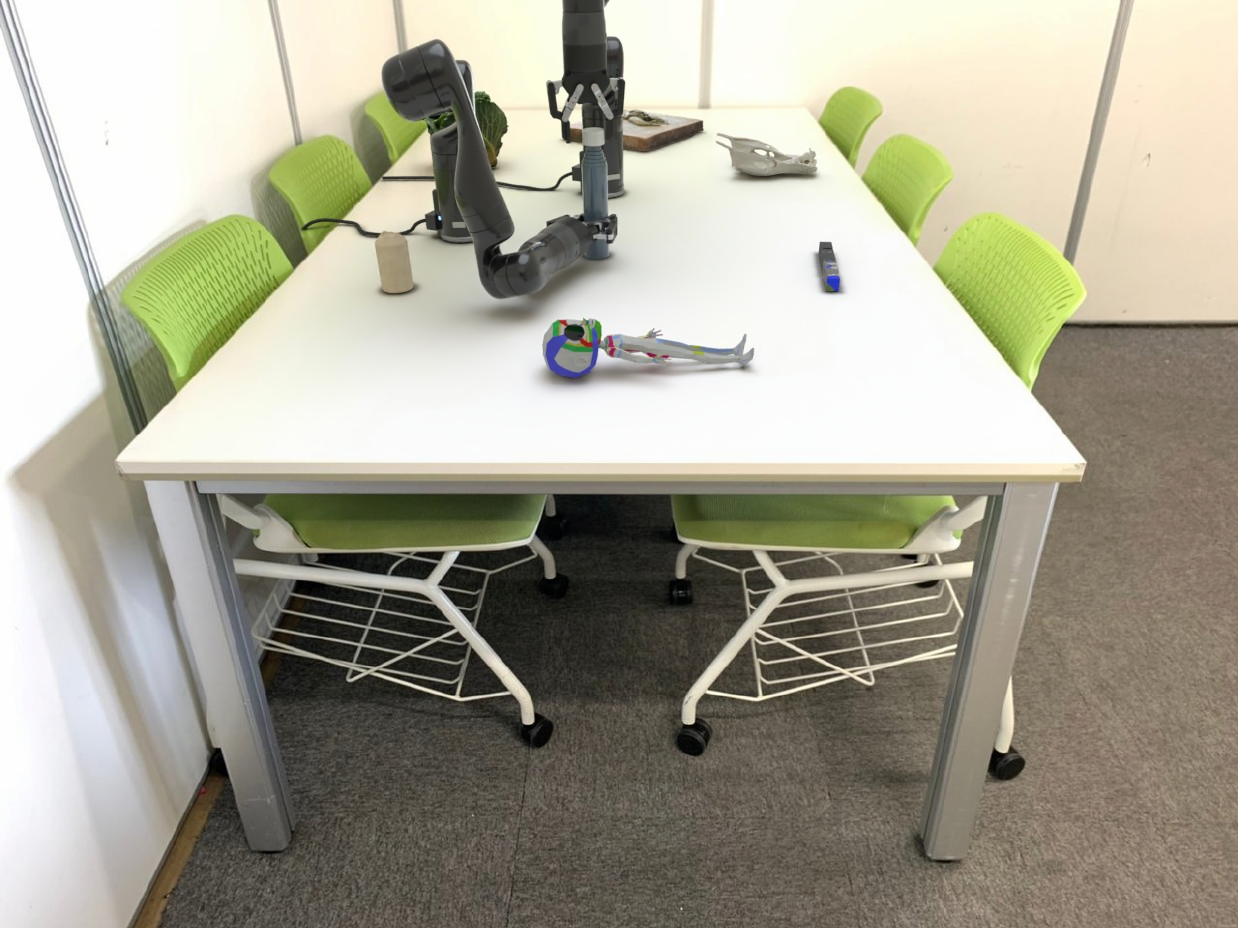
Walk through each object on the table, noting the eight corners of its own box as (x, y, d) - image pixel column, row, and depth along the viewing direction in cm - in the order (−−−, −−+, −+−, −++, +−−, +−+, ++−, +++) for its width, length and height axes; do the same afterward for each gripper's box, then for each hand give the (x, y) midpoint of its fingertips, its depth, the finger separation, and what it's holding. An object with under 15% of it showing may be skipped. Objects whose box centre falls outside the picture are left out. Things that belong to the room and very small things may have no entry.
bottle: (580, 257, 172) (575, 134, 160) (591, 250, 176) (587, 129, 164) (602, 261, 170) (599, 136, 158) (613, 253, 174) (611, 131, 162)
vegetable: (456, 190, 238) (411, 121, 230) (516, 151, 239) (474, 80, 231) (465, 191, 219) (416, 116, 212) (530, 148, 221) (484, 71, 213)
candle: (419, 284, 161) (411, 229, 156) (403, 295, 157) (395, 239, 151) (392, 280, 162) (384, 226, 157) (376, 291, 158) (367, 236, 153)
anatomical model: (717, 129, 225) (818, 128, 221) (717, 166, 230) (815, 166, 226) (714, 143, 213) (820, 142, 209) (713, 182, 217) (817, 182, 214)
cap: (598, 147, 160) (598, 133, 158) (578, 145, 161) (578, 131, 160) (608, 142, 163) (608, 128, 161) (589, 140, 164) (588, 126, 163)
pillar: (831, 242, 170) (840, 279, 154) (830, 253, 172) (838, 291, 155) (819, 241, 171) (827, 279, 154) (818, 252, 172) (825, 291, 155)
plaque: (647, 125, 237) (559, 112, 252) (647, 153, 241) (560, 139, 256) (706, 107, 258) (622, 97, 273) (705, 133, 262) (622, 121, 277)
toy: (760, 346, 125) (547, 329, 121) (748, 400, 130) (541, 385, 125) (744, 318, 134) (544, 300, 129) (733, 369, 138) (539, 354, 134)
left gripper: (595, 228, 154) (636, 202, 167) (523, 219, 159) (568, 194, 172) (597, 270, 158) (636, 241, 171) (526, 259, 163) (569, 232, 176)
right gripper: (621, 36, 157) (622, 135, 166) (540, 39, 155) (545, 139, 164) (629, 41, 151) (630, 144, 160) (544, 44, 149) (550, 148, 158)
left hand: (601, 217), depth 172 cm, fingers closed on bottle, 4 cm apart
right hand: (587, 141), depth 162 cm, fingers open, 6 cm apart
